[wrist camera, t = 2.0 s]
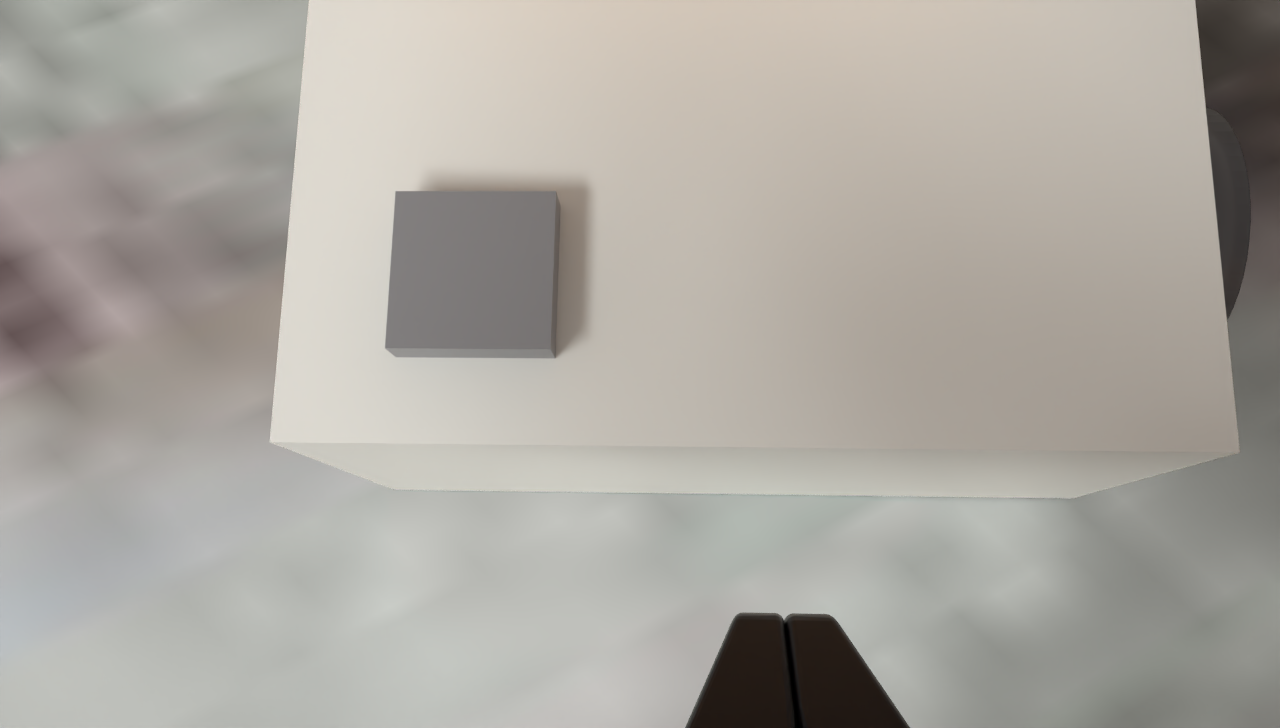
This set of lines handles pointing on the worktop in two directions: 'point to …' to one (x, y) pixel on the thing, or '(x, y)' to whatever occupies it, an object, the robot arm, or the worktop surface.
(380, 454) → the white box
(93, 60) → the worktop surface
